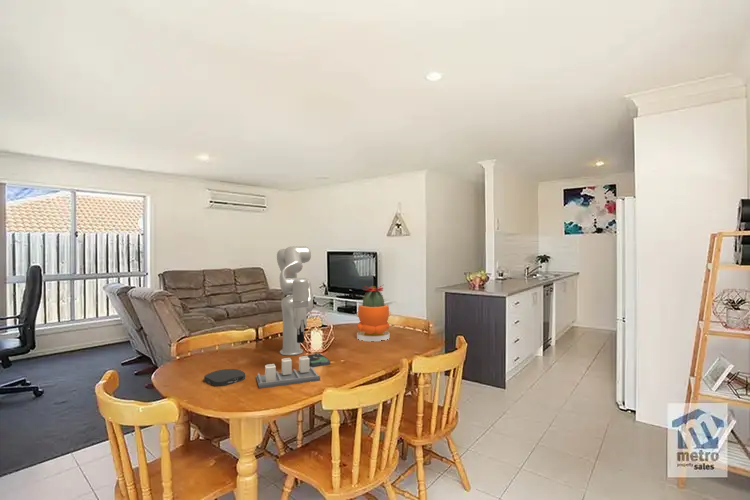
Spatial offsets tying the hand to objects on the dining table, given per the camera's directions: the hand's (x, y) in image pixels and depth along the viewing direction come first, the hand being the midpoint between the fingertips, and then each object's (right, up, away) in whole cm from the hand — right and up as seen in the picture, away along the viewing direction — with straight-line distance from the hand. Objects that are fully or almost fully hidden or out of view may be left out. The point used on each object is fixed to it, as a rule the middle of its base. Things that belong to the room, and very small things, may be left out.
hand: (300, 342), depth 182 cm
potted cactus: (+35, -13, +60) cm, 71 cm away
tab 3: (+3, -11, -8) cm, 14 cm away
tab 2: (-4, -11, -11) cm, 16 cm away
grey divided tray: (-3, -13, -14) cm, 19 cm away
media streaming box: (-31, -13, -15) cm, 37 cm away
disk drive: (+6, -14, +11) cm, 18 cm away
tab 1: (-9, -11, -20) cm, 25 cm away
